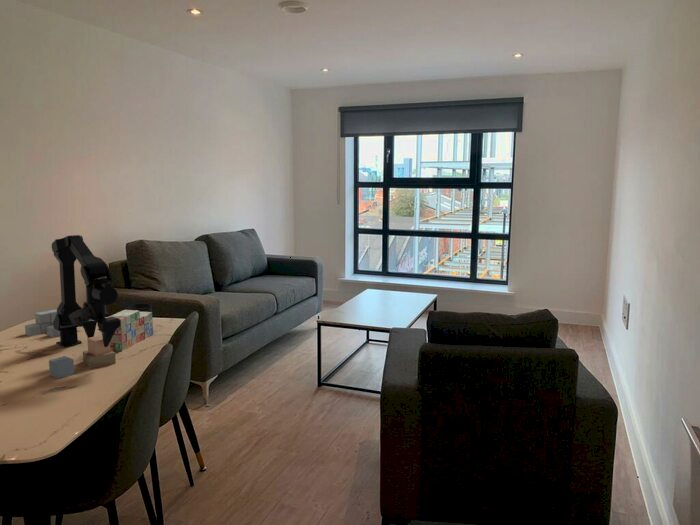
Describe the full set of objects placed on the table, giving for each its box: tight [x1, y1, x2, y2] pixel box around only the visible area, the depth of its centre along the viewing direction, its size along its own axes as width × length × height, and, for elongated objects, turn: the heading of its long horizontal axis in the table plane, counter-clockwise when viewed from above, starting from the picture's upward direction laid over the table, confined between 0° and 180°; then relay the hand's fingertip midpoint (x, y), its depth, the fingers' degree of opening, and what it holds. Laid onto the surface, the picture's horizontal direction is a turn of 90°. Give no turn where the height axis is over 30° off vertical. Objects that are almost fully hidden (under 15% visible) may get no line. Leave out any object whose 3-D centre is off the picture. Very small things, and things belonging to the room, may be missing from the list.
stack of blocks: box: [106, 309, 154, 352], centre depth 197 cm, size 21×6×12 cm, turn 171°
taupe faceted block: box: [82, 349, 117, 369], centre depth 175 cm, size 8×8×4 cm
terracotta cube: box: [86, 334, 111, 356], centre depth 174 cm, size 5×5×5 cm
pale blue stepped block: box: [24, 308, 60, 338], centre depth 204 cm, size 12×12×8 cm
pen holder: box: [126, 302, 152, 312], centre depth 213 cm, size 9×9×10 cm
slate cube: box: [48, 355, 75, 379], centre depth 164 cm, size 5×5×5 cm
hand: (98, 343), depth 174 cm, fingers open, 9 cm apart
